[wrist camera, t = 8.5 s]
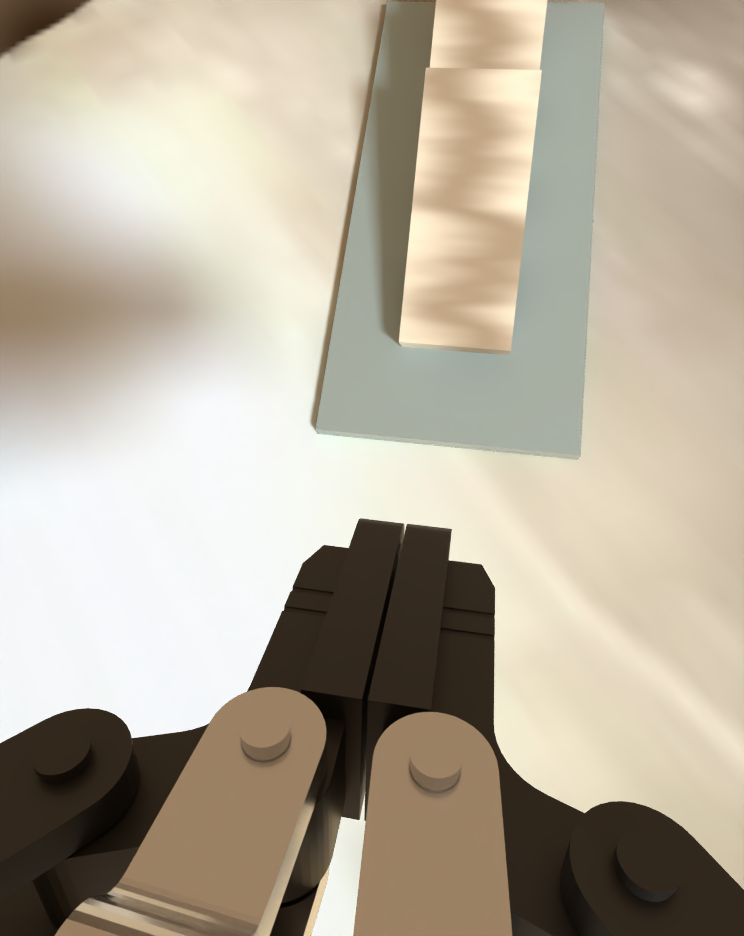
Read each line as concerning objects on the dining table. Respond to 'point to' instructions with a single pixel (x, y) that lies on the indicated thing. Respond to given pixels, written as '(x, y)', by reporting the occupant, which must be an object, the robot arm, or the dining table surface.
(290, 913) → the robot arm
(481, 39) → the domino
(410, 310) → the domino
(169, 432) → the dining table surface
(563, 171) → the domino board
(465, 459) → the dining table surface
